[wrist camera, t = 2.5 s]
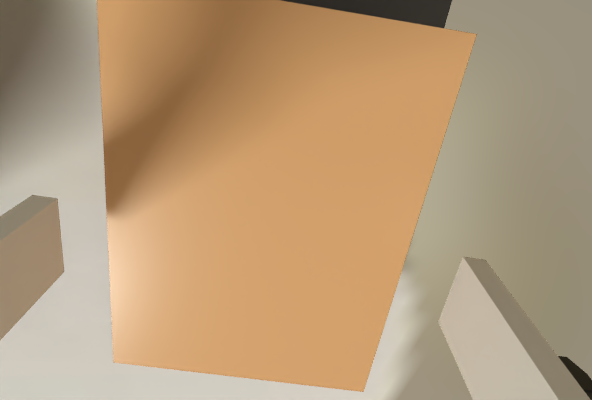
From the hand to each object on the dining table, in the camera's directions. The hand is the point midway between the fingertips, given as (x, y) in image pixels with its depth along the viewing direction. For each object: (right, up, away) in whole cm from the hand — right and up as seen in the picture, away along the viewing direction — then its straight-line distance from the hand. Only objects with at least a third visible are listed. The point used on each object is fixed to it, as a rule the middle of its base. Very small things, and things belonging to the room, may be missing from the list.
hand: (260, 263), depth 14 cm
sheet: (0, +2, +2) cm, 3 cm away
